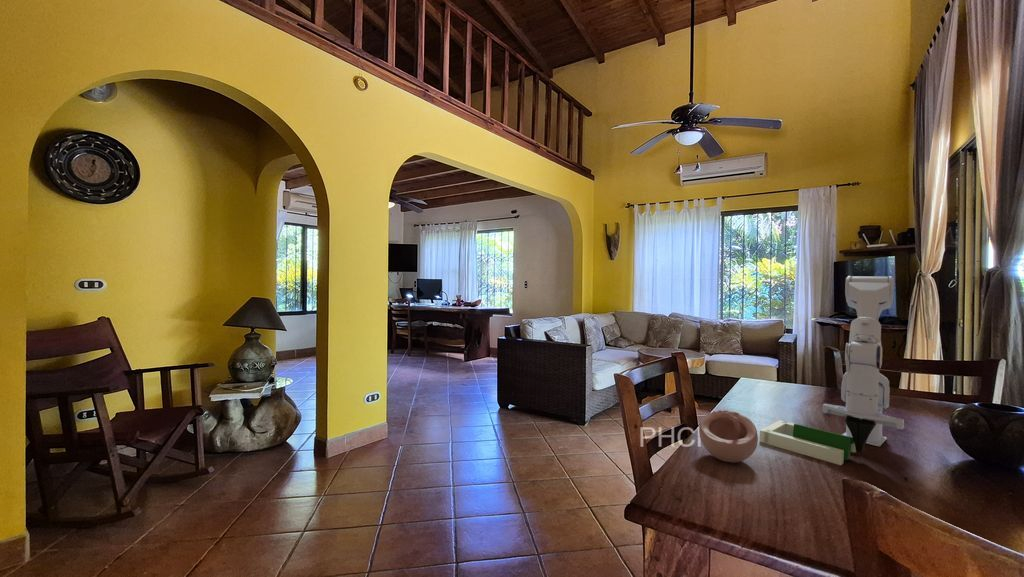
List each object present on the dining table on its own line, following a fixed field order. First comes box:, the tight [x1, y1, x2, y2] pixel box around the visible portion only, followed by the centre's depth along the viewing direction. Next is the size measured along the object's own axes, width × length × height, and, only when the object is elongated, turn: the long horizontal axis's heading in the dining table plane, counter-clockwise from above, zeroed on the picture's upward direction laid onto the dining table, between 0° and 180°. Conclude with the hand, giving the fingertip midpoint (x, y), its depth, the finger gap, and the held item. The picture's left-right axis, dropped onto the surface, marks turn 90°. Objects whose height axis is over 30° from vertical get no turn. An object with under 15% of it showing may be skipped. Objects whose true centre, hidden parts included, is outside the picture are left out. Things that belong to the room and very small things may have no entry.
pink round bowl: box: [698, 409, 759, 463], centre depth 95 cm, size 12×12×11 cm
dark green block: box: [792, 423, 854, 461], centre depth 101 cm, size 12×6×9 cm, turn 33°
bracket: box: [759, 419, 857, 466], centre depth 105 cm, size 14×17×3 cm
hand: (859, 450), depth 97 cm, fingers closed
